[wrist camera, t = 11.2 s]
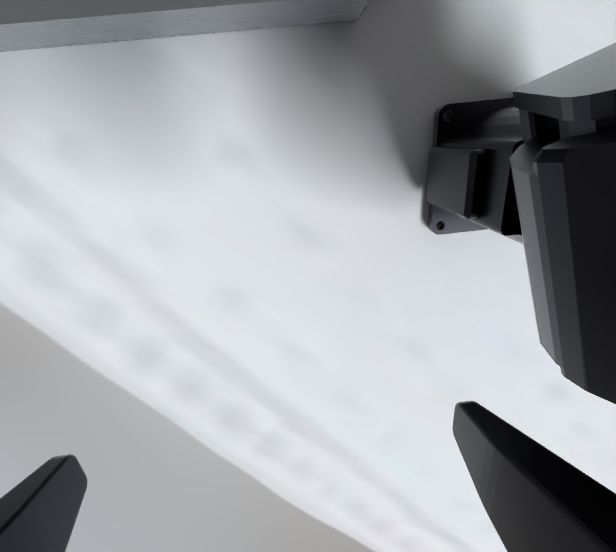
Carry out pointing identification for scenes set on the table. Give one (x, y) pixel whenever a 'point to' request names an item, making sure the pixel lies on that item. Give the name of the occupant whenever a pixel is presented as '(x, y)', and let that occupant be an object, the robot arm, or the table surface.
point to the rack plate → (154, 18)
